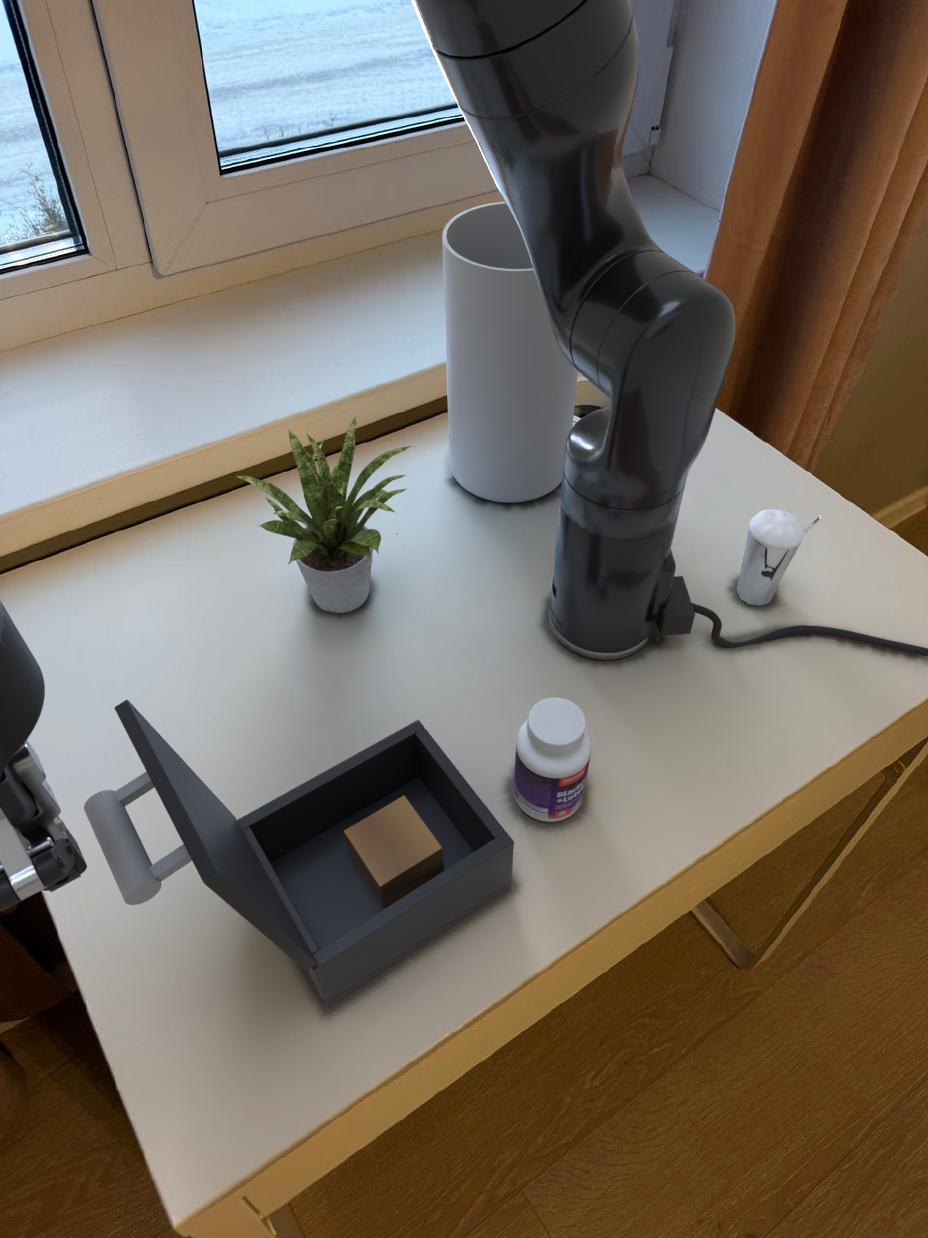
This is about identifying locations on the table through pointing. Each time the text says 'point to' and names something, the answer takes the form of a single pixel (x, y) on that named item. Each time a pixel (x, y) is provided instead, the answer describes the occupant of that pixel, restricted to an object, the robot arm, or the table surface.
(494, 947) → the table surface
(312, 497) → the house plant
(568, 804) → the pill bottle
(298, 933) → the lid
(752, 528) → the milkshake
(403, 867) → the block
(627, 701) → the table surface
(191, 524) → the table surface
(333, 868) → the dark grey rectangular box
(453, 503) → the table surface
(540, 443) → the cylinder vase
